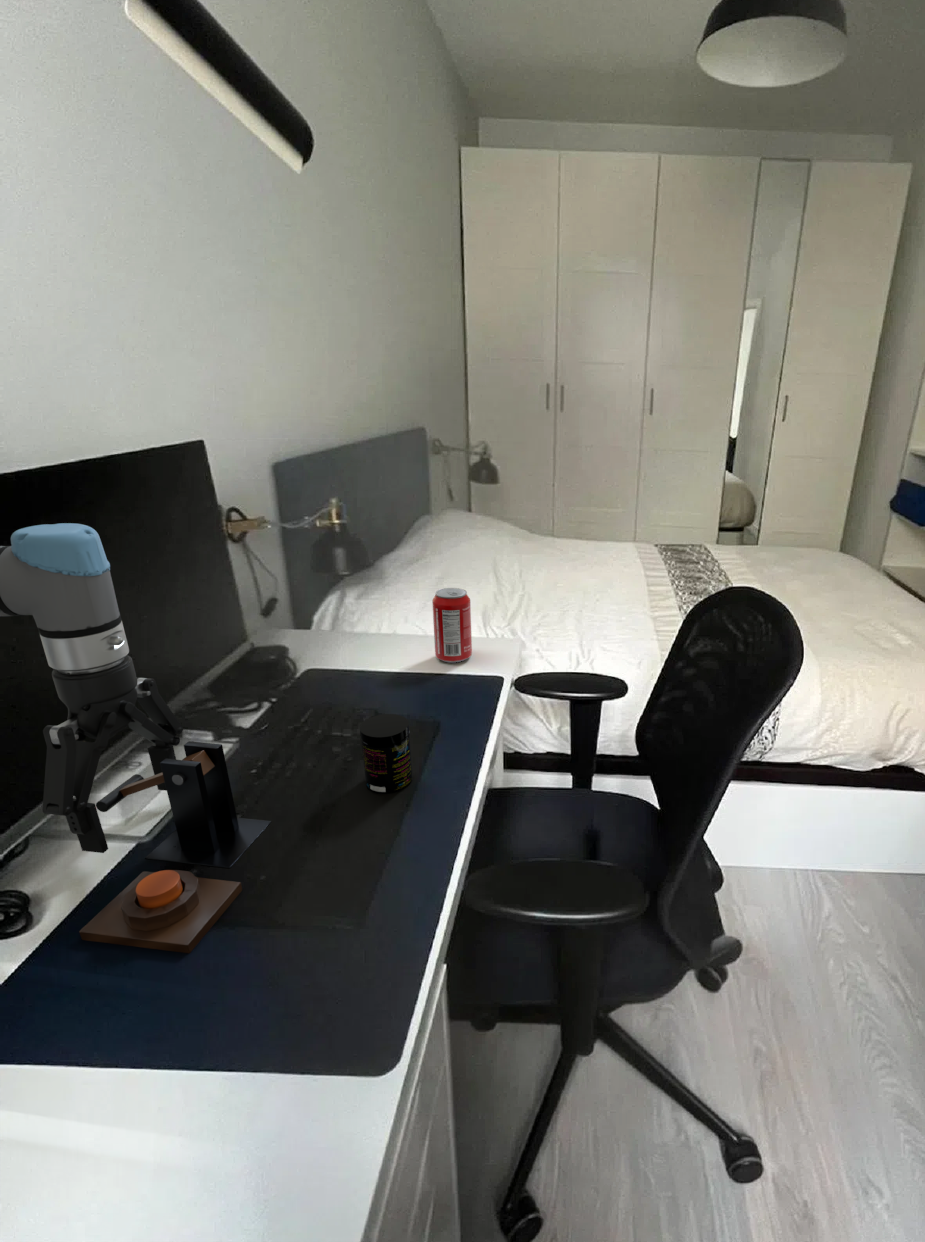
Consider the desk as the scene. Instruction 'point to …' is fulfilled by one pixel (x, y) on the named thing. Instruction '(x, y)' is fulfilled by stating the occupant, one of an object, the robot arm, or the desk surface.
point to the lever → (146, 782)
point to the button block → (163, 915)
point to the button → (159, 889)
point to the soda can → (452, 625)
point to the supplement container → (386, 753)
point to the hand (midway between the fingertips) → (135, 817)
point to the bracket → (204, 813)
